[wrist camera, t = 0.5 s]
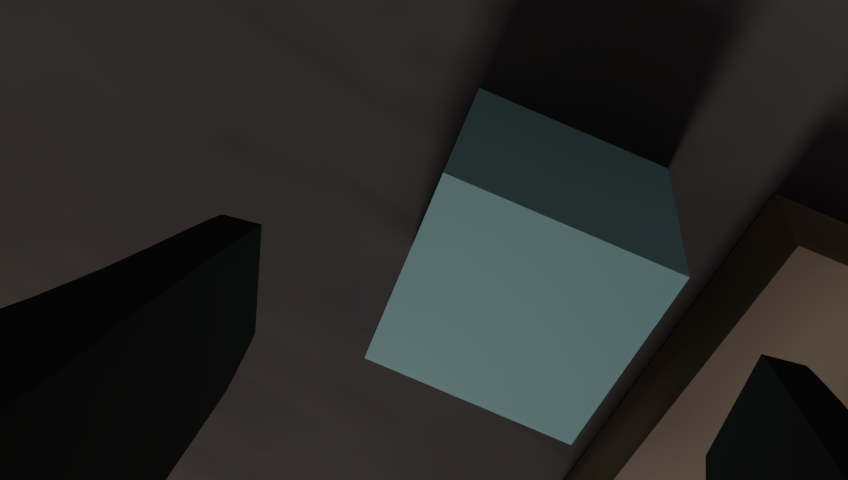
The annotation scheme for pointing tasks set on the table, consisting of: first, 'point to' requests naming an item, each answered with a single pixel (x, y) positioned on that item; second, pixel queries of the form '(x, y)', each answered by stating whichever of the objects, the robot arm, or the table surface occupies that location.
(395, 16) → the table surface
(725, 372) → the walnut base
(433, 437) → the table surface
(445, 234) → the teal block
